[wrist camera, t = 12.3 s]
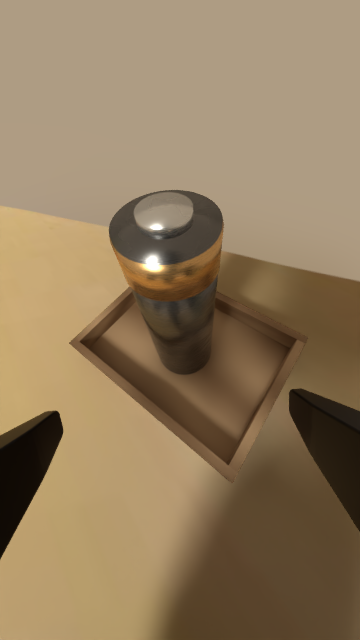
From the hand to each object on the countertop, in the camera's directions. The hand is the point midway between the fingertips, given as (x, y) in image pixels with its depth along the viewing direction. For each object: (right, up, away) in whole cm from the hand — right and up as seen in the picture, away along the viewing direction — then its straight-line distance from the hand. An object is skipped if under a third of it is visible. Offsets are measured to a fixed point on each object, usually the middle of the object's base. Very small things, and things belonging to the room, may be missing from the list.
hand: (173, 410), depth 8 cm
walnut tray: (+1, +1, +11) cm, 11 cm away
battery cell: (+1, +1, +10) cm, 10 cm away
